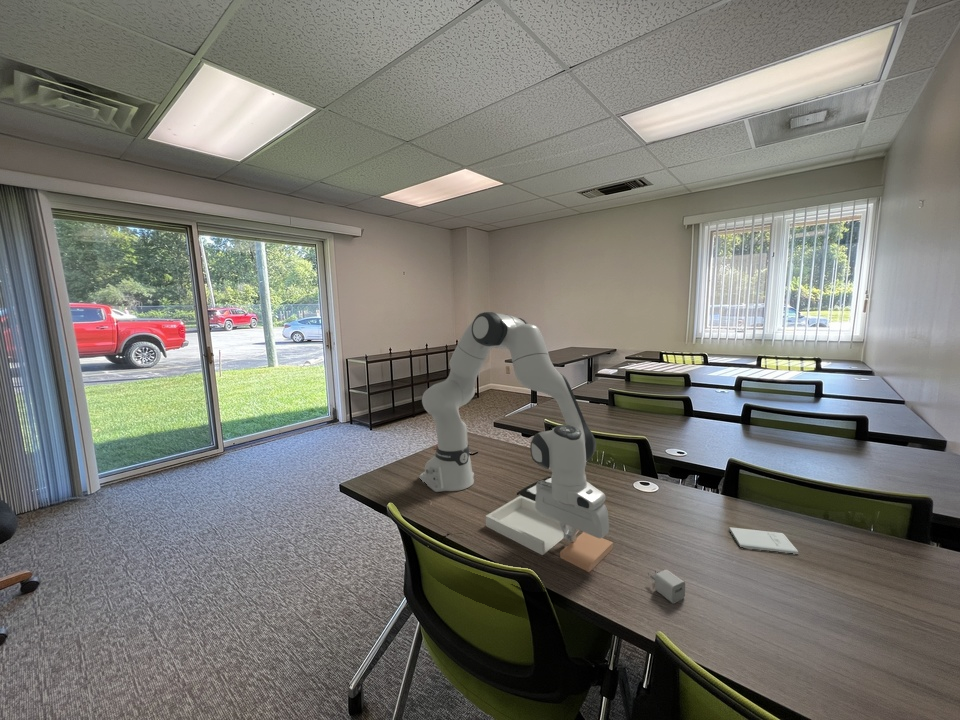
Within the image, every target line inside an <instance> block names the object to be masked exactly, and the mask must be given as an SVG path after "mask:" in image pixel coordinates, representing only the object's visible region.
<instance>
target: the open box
mask: <svg viewBox="0 0 960 720" xmlns="http://www.w3.org/2000/svg"><path fill="white" fill-rule="evenodd" d="M485 526H486V527H487V528H489V529H491V530H492V531H495V532H496V533H498V534H500V535H501V536H504V537H506V538H508V539H510V540H513V541H514V542H516V543H517V544H520V545H522V546H524V547H526V548H527V549H530V550H532V552H533V551H534V552H535V553H538V554H539V555H541V556H543V555H545V554H546V553H548V551H550V550H551V549H552V548H554V546H556V545H557V544H558V543H560V542H561V541H562V540H563V539H565V538H564V534H563V531H562V529H561V527H560V525H559V522H558V521H556V520H553V519H551V518H549V517H546V516H544V515H541V514H539V513H537V511H536V509H535V501H533V500H531V499H528V498H526V497H523V496H522V495H520V494H519V496H517V497H515V498H514V499H512V500H510V501H508V502H507V503H504V504H503V505H502V506H500V507H498V508H497V509H495V510H493V511H492V512H490V513H488V514H486V515H485ZM567 526H568V525H567ZM568 528H569V530H570V531H572V532H573V530H572V527H570V526H568Z"/></svg>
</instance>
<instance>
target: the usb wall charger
mask: <svg viewBox="0 0 960 720" xmlns="http://www.w3.org/2000/svg"><path fill="white" fill-rule="evenodd" d="M654 573H655V576H654V575H653V574H652V573H650V572H647V574H648V577H649V578H650V579H652V581H654V590H655V591H656V592H657V593H659V594H660V595H661V596H663V597H664V598H665V599H666V600H668V601H669V602H670V603H672V604H676V603H678V602H679V601H682V600H683V599H685V596H686V582H685V581H684V580H682V579H681V578H679V576H677V575H675V574H674V573H672V572H671V571H669V570H668V569H664V570H661V571H658V570H656V569H655V570H654Z"/></svg>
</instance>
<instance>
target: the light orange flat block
mask: <svg viewBox="0 0 960 720" xmlns="http://www.w3.org/2000/svg"><path fill="white" fill-rule="evenodd" d="M613 549H614V542H613V541H610V540H608V539H605V538H604V537H602V538H600V539H599V538H597V537H594V536H592V535H589V534H587V533H585V532H582V533H580V534H579V535H577V539H576V541H575V542H572V541H570V542H569V544H568V545H566V546H565V547H564V548H562V549H561V550H560V551H559V556H560V557H559V558H560V559H562V560H563V561H566V562H568V563H570V564H571V565H574V566H576V567H578V568H580V569H581V570H584V571H586V572H588V573H591V572H592V570H593V569H595V568H596V566H598V564H599V563H601V561H602V560H604V558H606V556H607V555H608V554H609V553H611V551H613Z"/></svg>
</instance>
